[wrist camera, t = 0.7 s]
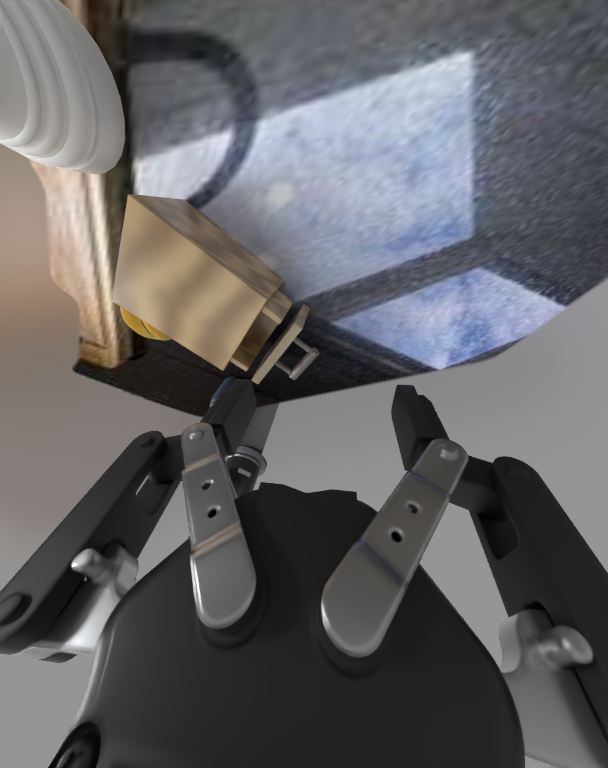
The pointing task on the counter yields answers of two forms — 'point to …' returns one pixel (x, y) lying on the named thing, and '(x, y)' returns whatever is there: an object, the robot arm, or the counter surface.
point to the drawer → (264, 328)
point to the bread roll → (142, 326)
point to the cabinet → (189, 277)
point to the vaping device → (223, 387)
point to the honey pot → (57, 90)
